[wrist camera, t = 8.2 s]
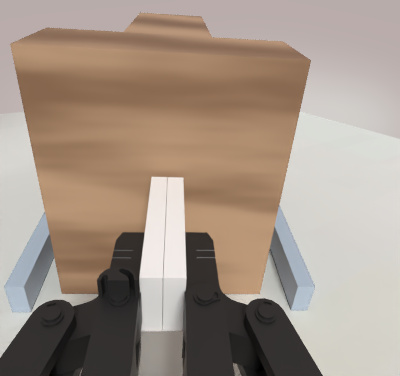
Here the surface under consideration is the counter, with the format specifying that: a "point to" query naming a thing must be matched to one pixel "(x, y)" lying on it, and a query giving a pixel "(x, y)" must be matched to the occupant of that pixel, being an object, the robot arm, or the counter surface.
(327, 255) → the counter surface
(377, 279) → the counter surface
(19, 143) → the counter surface
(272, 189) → the tee block
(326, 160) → the counter surface
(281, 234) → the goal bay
